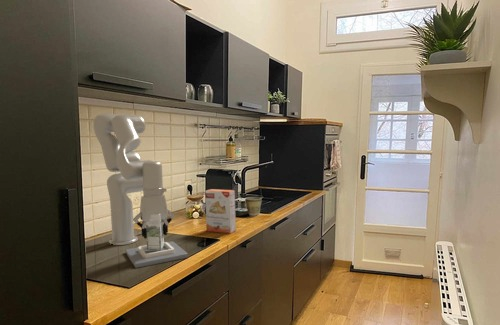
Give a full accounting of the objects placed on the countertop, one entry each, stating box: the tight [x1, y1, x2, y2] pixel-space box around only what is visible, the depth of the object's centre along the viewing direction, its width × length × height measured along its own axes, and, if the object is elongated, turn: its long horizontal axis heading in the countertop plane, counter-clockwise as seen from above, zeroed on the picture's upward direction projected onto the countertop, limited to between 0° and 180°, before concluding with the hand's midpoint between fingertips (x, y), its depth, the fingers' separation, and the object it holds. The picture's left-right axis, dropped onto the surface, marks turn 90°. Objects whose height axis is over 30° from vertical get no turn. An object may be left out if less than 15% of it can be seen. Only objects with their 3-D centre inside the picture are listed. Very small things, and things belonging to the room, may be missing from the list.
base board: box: [125, 241, 189, 269], centre depth 137 cm, size 20×20×3 cm
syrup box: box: [145, 213, 165, 250], centre depth 137 cm, size 6×6×14 cm
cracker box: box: [204, 188, 237, 235], centre depth 171 cm, size 14×6×21 cm, turn 65°
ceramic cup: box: [245, 196, 263, 217], centre depth 209 cm, size 13×10×10 cm
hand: (155, 235), depth 137 cm, fingers closed on syrup box, 7 cm apart
